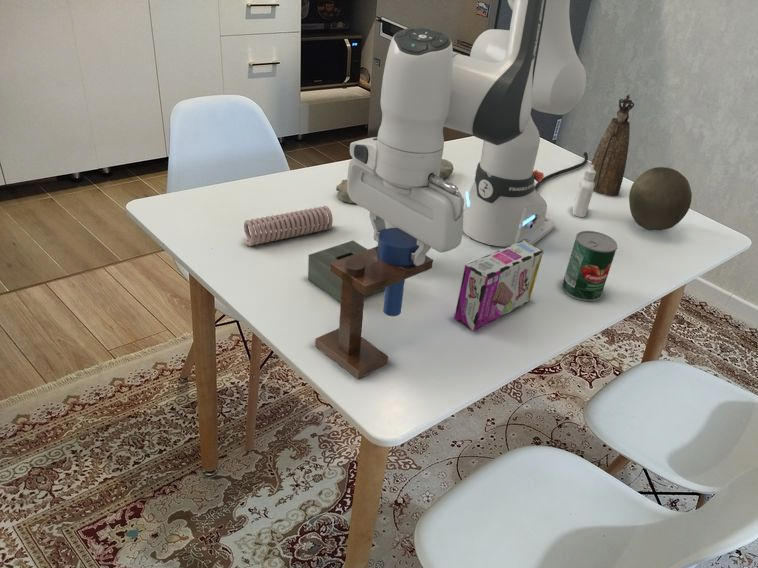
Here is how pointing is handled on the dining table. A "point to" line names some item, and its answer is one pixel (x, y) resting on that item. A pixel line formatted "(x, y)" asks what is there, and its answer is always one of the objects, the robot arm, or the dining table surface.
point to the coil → (288, 225)
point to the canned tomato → (589, 265)
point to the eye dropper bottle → (584, 193)
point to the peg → (395, 264)
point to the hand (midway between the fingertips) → (398, 251)
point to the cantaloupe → (659, 198)
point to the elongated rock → (343, 195)
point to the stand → (361, 309)
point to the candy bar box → (497, 284)
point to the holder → (321, 267)
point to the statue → (613, 152)
